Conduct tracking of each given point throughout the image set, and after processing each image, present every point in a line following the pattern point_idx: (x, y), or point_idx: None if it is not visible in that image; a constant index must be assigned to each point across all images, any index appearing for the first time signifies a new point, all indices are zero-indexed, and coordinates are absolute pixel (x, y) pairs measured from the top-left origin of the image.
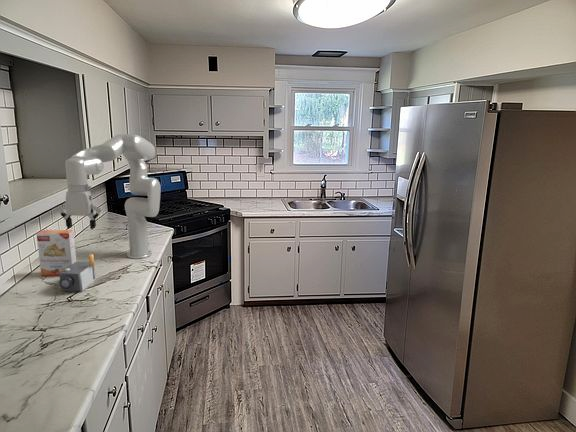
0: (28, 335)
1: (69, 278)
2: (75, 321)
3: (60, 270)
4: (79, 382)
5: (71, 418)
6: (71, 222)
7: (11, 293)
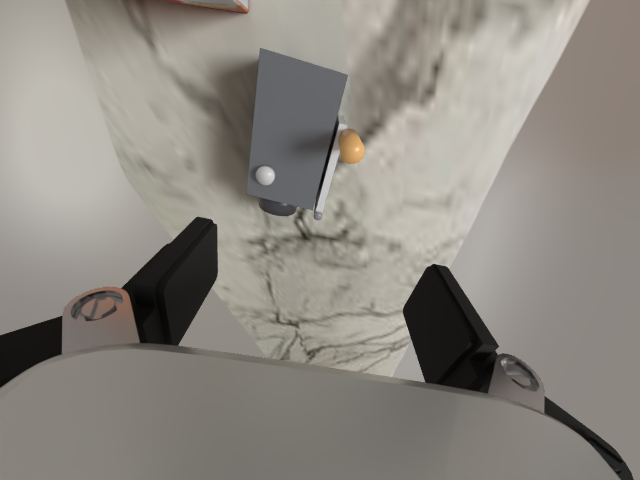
0: (278, 332)
1: (287, 210)
2: (337, 312)
3: (188, 2)
4: None
5: None
6: (194, 259)
7: (131, 164)
